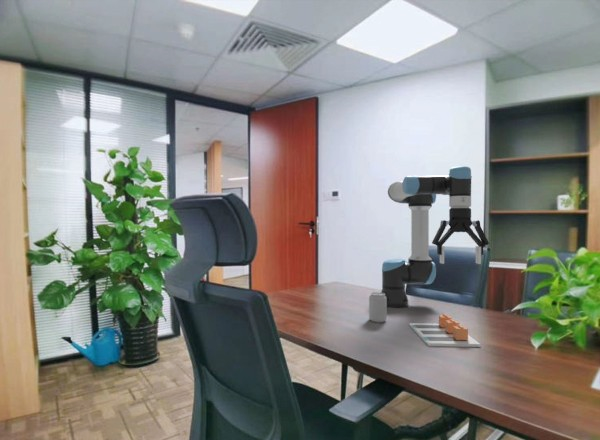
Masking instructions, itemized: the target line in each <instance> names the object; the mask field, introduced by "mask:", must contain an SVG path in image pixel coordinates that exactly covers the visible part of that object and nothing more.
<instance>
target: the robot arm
mask: <svg viewBox="0 0 600 440" xmlns="http://www.w3.org/2000/svg"><path fill="white" fill-rule="evenodd" d="M448 172H449V174H448V175H407V176H404V178H403V180H402V181H395V182H394V183H392V184H390V185H389V187H388V189H387V194H388V197H389V199H390V200H392V201H393V202H395V203H398V204H407V205H408V208H409V209H410V210H411V211H410V212H411V220H410V221H411V225H410V226H411V227H410V228H411V230H410V231H411V233H410V234H411V235H410V237H411V247H410V248H411V249H410V251H411V254H410V256H409V257H408V259H407V260H408V261H406V260H405V259H404V258H392V259H387V260H385V261H383V262H382V267H381V274H382V275H381V283H382V284H381V291H380V293H384V294H385V296H386V298H387V307H391V308H406V307H408V306H409V298H408V295H407V292H406V285H422V286H423V285H431V284H432V283H434V280H435V279H436V276H437V266H436V263H435V262H434V261H432V260H433V258H432V257H430V254H429V252H430V251H429V248H430V247H429V243H430V242H429V237H430V236H429V231H430V230H429V229H430V228H429V226H430V222H429V220H430V219H429V217H430V215H429V210H430V209H431V208H432V205H433V204H435V203H436V200H437V195H442V196H448V197H449V198H448V199H449V200H448V201H449V205H448V206H449V207H450V208H449V210H448V211H449V216H448V217H449V220H444V219H442V220H440V226H439V228H438V229H437V231H436V234H435V236H434V237H433V240H432V241H431V244H432V245H434V246H437V247H436V248H437V249H436V252H437V255H439V264H441V265H444V264H445V246H443V245H444V244H445V243H446V242H447V241H448V239H449V238H450V237H451V236H452V235H453V234H454V233H466V234H468V235H469V237H470V238H471V239H472V240H473V241H474V243H475V244H476V245H475V264H477V265H482V256H483V255H484V247H486V246H488V245H490V243H489V241H488V238H487V236H486V234H485V233H484V230H483V229H482V226H481V222H480V220H478V219H477V220H472V209H471V207H472V177H473V176H472V169H471V168H470V167H469V166H453V167H451V168H450V169H449V171H448ZM448 225H449V228H447V231H446V230H445V229H446V227H448ZM471 226H473V227H474V229H475V232H476V233H475V232H474V230H473V229H472V228H471ZM445 231H446V232H445ZM444 232H445V234H443V233H444ZM476 234H477V235H476ZM442 235H443V236H442Z"/></svg>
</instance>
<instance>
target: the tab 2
mask: <svg viewBox="0 0 600 440" xmlns="http://www.w3.org/2000/svg"><path fill="white" fill-rule="evenodd" d="M457 324H460V322H459V321H457V320H454V319H453V318H452V319H450V320H445V331H446V332H448V333H453V326H457Z"/></svg>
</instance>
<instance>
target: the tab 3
mask: <svg viewBox="0 0 600 440" xmlns="http://www.w3.org/2000/svg"><path fill="white" fill-rule="evenodd" d="M468 335H469V329H468V328H467V327H466V326H464V325H461V324H460V323H459V324H457V326H453V337H454V338H455V339H456V340H468Z"/></svg>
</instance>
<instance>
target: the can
mask: <svg viewBox="0 0 600 440" xmlns="http://www.w3.org/2000/svg"><path fill="white" fill-rule="evenodd" d="M387 307H388V306H387V298H386V296H385V294H384V293H381V292H377V291H376V292H375V291H374V292H370V295H369V296H368V319H369V320H370V321H371V322H372V323H373V322H374V323H380V324H381V323H385V322H386V321H387V311H388V309H387Z"/></svg>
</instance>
